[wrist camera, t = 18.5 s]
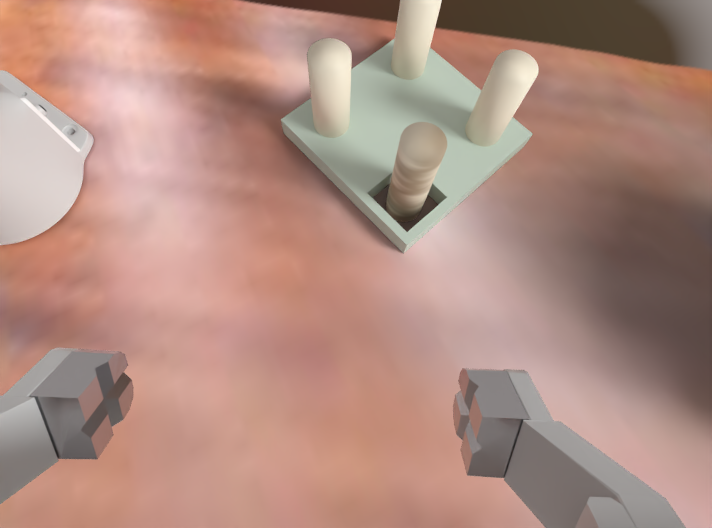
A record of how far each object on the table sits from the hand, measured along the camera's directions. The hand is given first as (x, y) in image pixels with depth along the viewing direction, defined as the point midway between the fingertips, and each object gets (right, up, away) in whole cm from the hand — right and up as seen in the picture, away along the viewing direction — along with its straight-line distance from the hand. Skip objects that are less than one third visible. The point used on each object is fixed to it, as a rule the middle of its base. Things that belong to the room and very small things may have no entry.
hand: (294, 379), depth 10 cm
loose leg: (+7, +9, +36) cm, 38 cm away
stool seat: (+7, +17, +39) cm, 43 cm away
